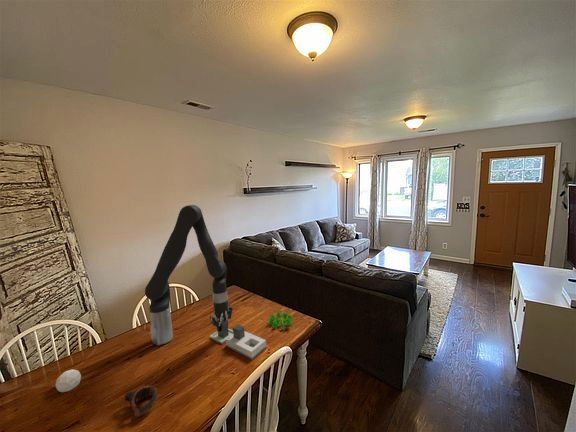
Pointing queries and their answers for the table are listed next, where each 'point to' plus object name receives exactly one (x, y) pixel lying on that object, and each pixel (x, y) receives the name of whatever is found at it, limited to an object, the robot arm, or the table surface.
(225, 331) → the grey rectangular prism
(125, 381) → the table surface
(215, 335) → the sage tray
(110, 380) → the table surface
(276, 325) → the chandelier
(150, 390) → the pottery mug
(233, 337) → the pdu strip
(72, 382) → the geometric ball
